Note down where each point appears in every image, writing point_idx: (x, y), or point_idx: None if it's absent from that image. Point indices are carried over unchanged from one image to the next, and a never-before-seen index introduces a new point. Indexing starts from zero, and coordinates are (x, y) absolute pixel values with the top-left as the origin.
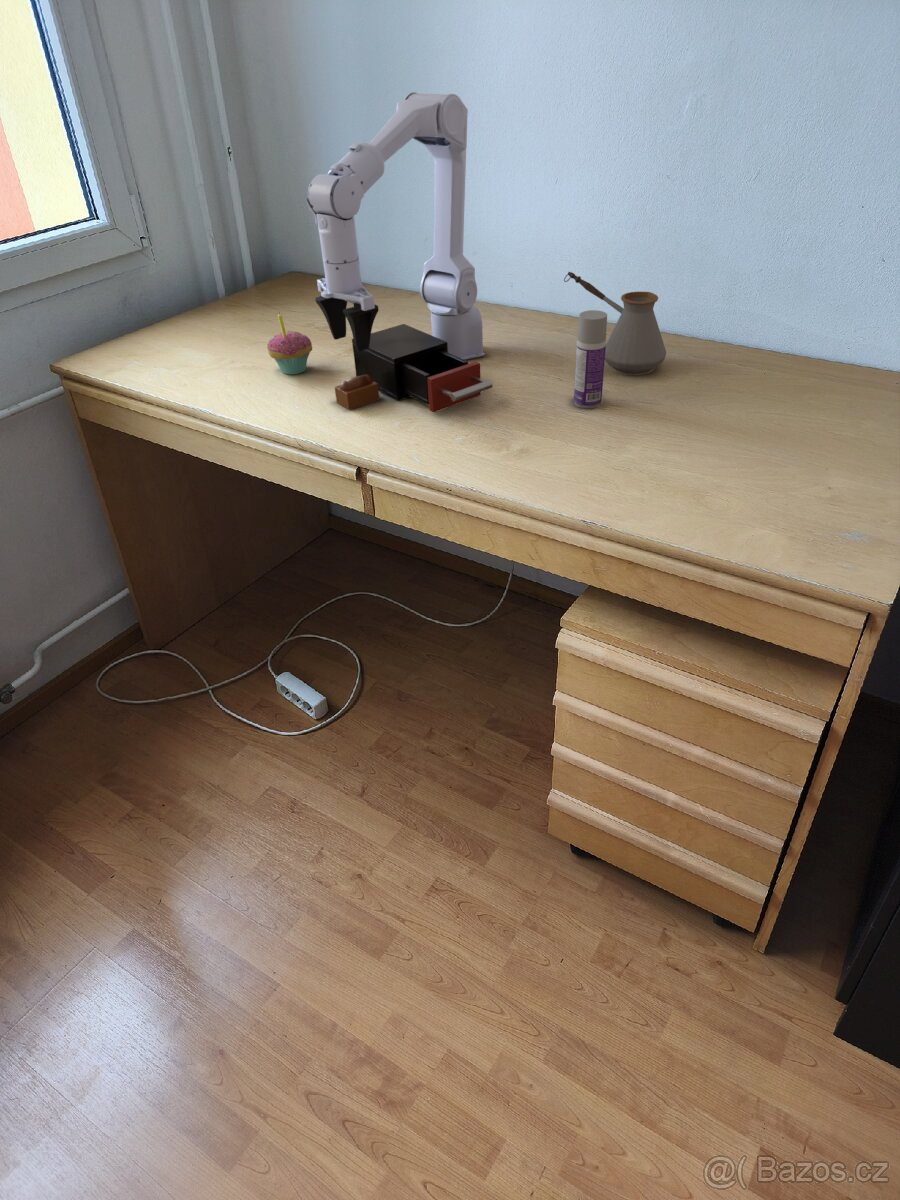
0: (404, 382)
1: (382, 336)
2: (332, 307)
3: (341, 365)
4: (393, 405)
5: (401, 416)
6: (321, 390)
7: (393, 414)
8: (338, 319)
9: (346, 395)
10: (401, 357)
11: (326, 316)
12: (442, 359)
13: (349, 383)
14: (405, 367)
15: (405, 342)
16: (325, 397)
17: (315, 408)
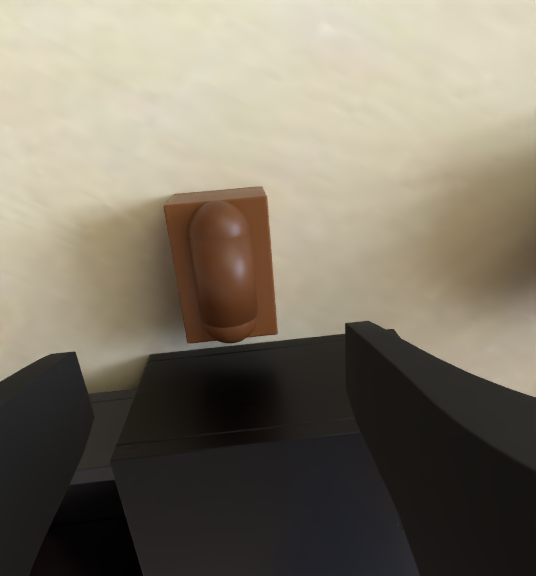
0: (125, 414)
1: (386, 517)
2: (459, 522)
3: (526, 337)
4: (125, 330)
5: (27, 313)
6: (400, 191)
7: (56, 300)
8: (397, 448)
9: (169, 202)
10: (119, 489)
11: (458, 389)
12: (141, 570)
13: (197, 244)
14: (90, 462)
15: (261, 554)
16: (334, 174)
17: (268, 92)
